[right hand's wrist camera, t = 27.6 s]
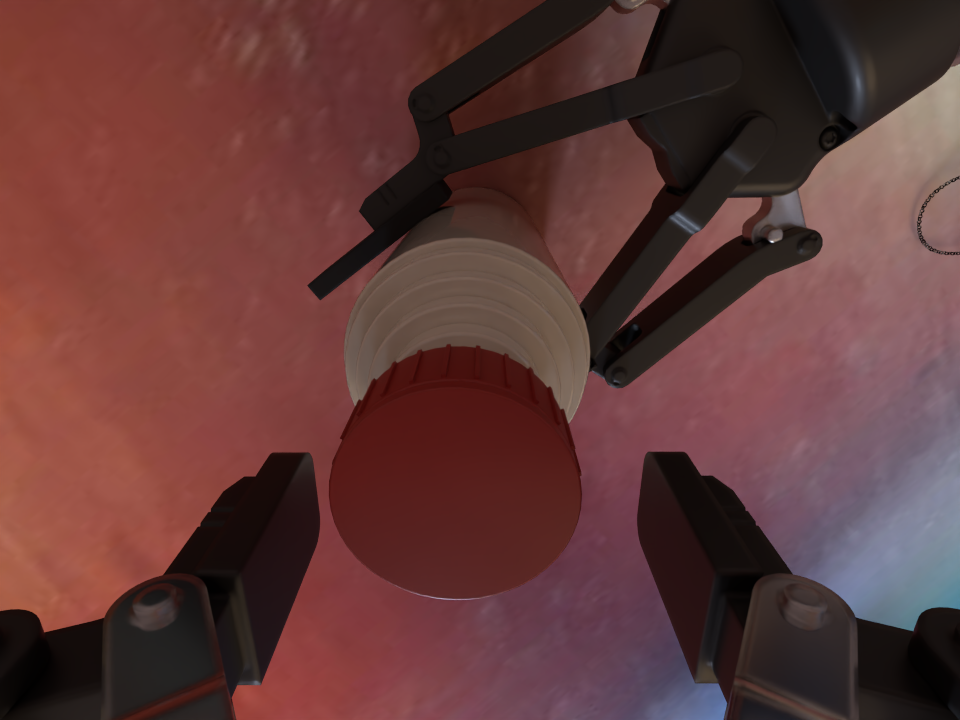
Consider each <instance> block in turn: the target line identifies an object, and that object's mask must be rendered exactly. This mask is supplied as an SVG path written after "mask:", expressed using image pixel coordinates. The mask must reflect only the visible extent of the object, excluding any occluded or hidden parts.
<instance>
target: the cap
mask: <svg viewBox="0 0 960 720" xmlns="http://www.w3.org/2000/svg"><path fill="white" fill-rule="evenodd" d="M340 439H342V442H341V444H340V446H339V449H338V451H337V453H336V455H335V457H334V459H333V462H332V469H331V475H330V480H329V500H330V507H331V512H332V515H333V519H334V522H335V525H336V527H337V529H338V531H339V534H340V536H341V537H342V539H343V541H344V542H345V544H346V545H347V547H348V548H349V549H350V551H351V552H352V553H353V554H354V555H355V557H356V558H357V559H358V560H359V561H360V562H361V563H362V564H363V565H364V566H366V567H367V568H368V569H369V570H370V571H372V572H373V573H375V574H376V575H377V576H379V577H380V578H382V579H384V580H385V581H387V582H389V583H391V584H392V585H395V586H397V587H399V588H402V589H404V590H406V591H409V592H412V593H416V594H419V595H423V596H428V597H432V598H439V599H449V600H467V599H477V598H484V597H489V596H493V595H497V594H500V593H503V592H507V591H510V590H512V589H514V588H516V587H519V586H521V585H523V584H525V583H526V582H528V581H530V580H532V579H533V578H535V577H536V576H538V575H539V574H540V573H542V572H543V571H544V570H545V569H547V568H548V567H549V566H550V565H551V564H552V563H553V562H554V561H555V560H556V559H557V558H558V557H559V555H560V554H561V553H562V551H563V550H564V549H565V547H566V546H567V544H568V542H569V541H570V539H571V537H572V535H573V533H574V530H575V528H576V525H577V523H578V519H579V514H580V510H581V499H582V491H581V480H580V476H581V470H580V466H579V463H578V459H577V456H576V452H575V445H574V442H573V438H572V435H571V431H570V428H569V424H568V421H567V417H566V414H565V411H564V409H560V407H559V404H558V403H557V401H556V399H555V398H554V394H553V390H552V388H551V387H550V386H549V387H547V386H546V385H545V384H544V383H543V381H542V380H540V379H539V378H538V377H537V376H536V375H535V374H534V371H533V369H532V368H531V367H529V369H528V368H526V367H525V366H523V365H522V364H520V363H519V362H517V361H515V360H513V359H511V358H509V355H508V354H506V353H505V354H504V355H502V354H499V353H497V352H494V351H490V350H486V349H481V346H478V345H476V348H475V347H467V346H451V344H447V345H446V347H441V348H434V349H430V350H426V351H422V349H421V350H418V351H417V354H414V355H412V356H409V357H407V358H405V359H403V360H402V361H400V362H398V363H397V362H396V361H394V362H393V363H392V365H391V367H390V368H389V369H388V370H386V371H385V372H384V373H383V374H382V375H381V376H380V377H379V378H378V379H377V380H376V379H375V378H374V379H373V380H372V381H371V383H370V385H369V387H368V390H367V392H366V394H365V396H364V397H363V399H362V400H360V399H359V400H358V402H357V404H356V406H355V408H354V410H353V412H352V414H351V416H350V418H349V420H348V423H347V425H346V427H345V429H344V431H343V433H342V435H341V437H340Z"/></svg>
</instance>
